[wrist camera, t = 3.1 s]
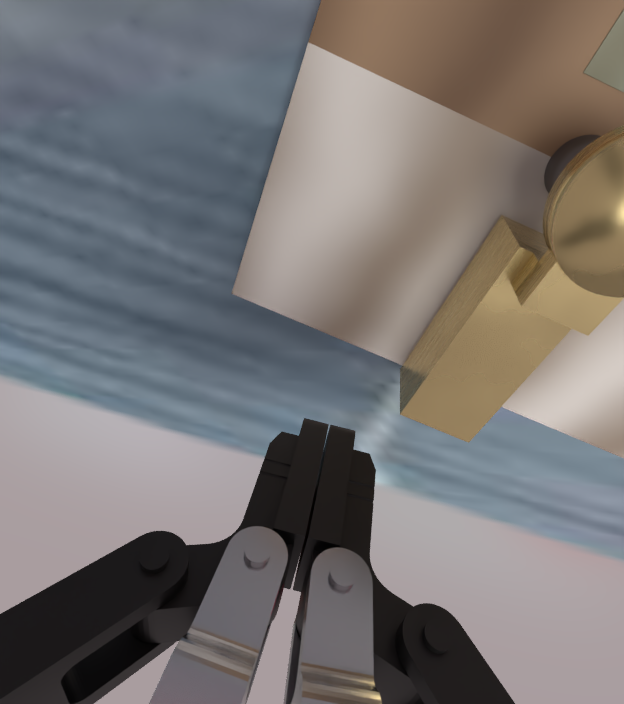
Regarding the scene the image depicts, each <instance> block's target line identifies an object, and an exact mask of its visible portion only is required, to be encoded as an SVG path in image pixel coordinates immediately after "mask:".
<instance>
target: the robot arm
mask: <svg viewBox="0 0 624 704" xmlns="http://www.w3.org/2000/svg"><path fill="white" fill-rule="evenodd" d="M328 425H329V424H325V423H321V422H318V421H314V420H310V419H306V418H304V421H303V424H302V428H301V431H300V435H299V436H297V435H293V434H289V433H285V432H281V433H280V434H279V435H278V436H277V437H276V438H275V439H274V440H273V441H272V442H271V443H270V445H269V447H268V450H267V453H266V456H265V459H264V462H263V464H262V467H261V470H260V474H259V476H258V479H257V482H256V485H255V487H254V490H253V493H252V496H251V499H250V502H249V504H248V507H247V510H246V513H245V516H244V519H243V521H242V523H241V525H240V526H239V528H238V529H237V530H236V532H235V533H233V534H232V535H231V536H230V537H228V538H226V539H224V540H222V541H220V542H216V543H211V544H200V545H186V544H185V543H184V541H183V540H182V539H181V538H180V537H178V536H177V535H175V534H173V533H171V532H166V531H154V532H150V533H146V534H144V535H142V536H140V537H138V538H136V539H135V540H133V541H131V542H129V543H127V544H125V545H124V546H122V547H120V548H118V549H117V550H115V551H113V552H111V553H109V554H107V555H106V556H104V557H102V558H100V559H99V560H97V561H95V562H93V563H91V564H89V565H88V566H86V567H84V568H82V569H81V570H79V571H77V572H75V573H73V574H71V575H70V576H68V577H66V578H65V579H63V580H61V581H59V582H57V583H55V584H54V585H52V586H50V587H48V588H46V589H45V590H43V591H41V592H39V593H37V594H36V595H34V596H32V597H30V598H28V599H27V600H25V601H23V602H21V603H19V604H18V605H16V606H14V607H12V608H10V609H9V610H7V611H5V612H3V613H1V614H0V704H94V703H95V702H96V701H97V700H99V699H100V698H102V697H103V696H104V695H106V694H107V693H108V692H110V691H111V690H112V689H114V688H115V687H116V686H118V685H119V684H120V683H122V682H123V681H125V680H126V679H127V678H129V677H130V676H131V675H133V674H134V673H135V672H137V671H138V670H139V669H141V668H142V667H143V666H145V665H146V664H147V663H149V662H150V661H151V660H153V659H154V658H155V657H157V656H158V655H159V654H161V653H162V652H164V651H165V650H166V649H168V648H169V647H170V646H171V645H173V644H174V643H175V642H176V641H179V642H178V644H177V646H176V647H175V649H174V651H173V653H172V655H171V657H170V660H169V662H168V664H167V666H166V668H165V670H164V672H163V675H162V677H161V679H160V681H159V683H158V685H157V688H156V690H155V692H154V694H153V696H152V699H151V700H150V703H149V704H246V703H247V700H248V697H249V693H250V690H251V687H252V683H253V680H254V677H255V674H256V671H257V668H258V665H259V661H260V658H261V655H262V652H263V649H264V645H265V642H266V639H267V636H268V633H269V629H270V626H271V623H272V621H273V620H274V618H275V616H276V614H277V611H278V607H279V603H280V600H281V596H282V592H283V588H287V589H290V588H291V584H292V581H293V578H294V574H295V571H296V567H297V564H298V568H297V573H296V577H295V582H294V587H293V590H296V591H299V592H301V596H300V601H299V606H298V611H297V615H296V618H295V621H294V625H293V633H292V641H291V648H290V657H289V664H288V672H287V680H286V688H285V697H284V704H515V703H514V702H513V700H512V699H511V697H510V696H509V694H508V693H507V691H506V690H505V688H504V687H503V685H502V684H501V683H500V681H499V680H498V678H497V677H496V675H495V674H494V673H493V671H492V670H491V668H490V667H489V665H488V664H487V663H486V661H485V659H484V658H483V657H482V655H481V654H480V652H479V651H478V650H477V648H476V646H475V645H474V644H473V642H472V641H471V639H470V638H469V636H468V635H467V633H466V632H465V631H464V629H463V628H462V626H461V625H460V623H459V622H458V621H457V620H456V619H455V617H453V615H451V614H450V613H449V612H448V611H447V610H445V609H443V608H441V607H440V606H437V605H434V604H427V603H426V604H419V605H416V606H414V607H413V606H411V605H410V604H408V603H407V602H405V601H404V600H402V599H400V598H399V597H397V596H396V595H394V594H393V593H391V592H390V591H389V590H387V589H386V588H385V587H384V586H383V585H382V584H381V583H380V581H379V580H378V579H377V577H376V575H375V574H374V571H373V569H372V566H371V563H370V540H371V526H372V513H373V500H374V486H375V473H376V469H375V467H374V464H373V462H372V459H371V456H370V454H368V453H364V452H361V451H357V450H353V447H354V439H355V431H354V430H350V429H346V428H342V427H338V426H334V425H330V428H329V432H328V436H327V439H326V435H327V430H328ZM325 440H326V443H325ZM324 444H325V447H324ZM323 449H324V450H323ZM300 553H301V554H300ZM299 556H300V558H299ZM298 560H299V563H298Z"/></svg>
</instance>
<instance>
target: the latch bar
mask: <svg viewBox="0 0 624 704" xmlns="http://www.w3.org/2000/svg"><path fill="white" fill-rule="evenodd" d="M623 299H624V125H622V126H620V127H618V128H615V129H613V130H611V131H609V132H607V133H606V134H604V135H602V136H600V137H599V138H597V139H596V140H594V141H593V142H591V143H590V144H589V145H587V146H586V147H585V148H584V149H582V150H581V151H580V152H579V153H578V154H577V155H576V156H575V157H574V158H573V159H572V160H571V161H570V162H569V163H568V164H567V165H566V167H565V168H564V169H563V171H562V172H561V173H560V175H559V176H558V178H557V179H556V181H555V183H554V184H553V186H552V188H551V191H550V193H549V195H548V198H547V201H546V204H545V208H544V213H543V234H542V233H540V232H538V231H536V230H534V229H532V228H529V227H527V226H525V225H523V224H521V223H518V222H516V221H514V220H512V219H510V218H507V217H505V216H503V215H501V217H500V218H499V220H498V221H497V223H496V224H495V226H494V227H493V229H492V230H491V232H490V233H489V235H488V236H487V238H486V240H485V241H484V243H483V244H482V246H481V247H480V249H479V250H478V252H477V253H476V255H475V256H474V258H473V259H472V261H471V262H470V264H469V265H468V267H467V268H466V270H465V271H464V273H463V274H462V276H461V277H460V279H459V281H458V282H457V284H456V285H455V287H454V288H453V290H452V291H451V293H450V294H449V296H448V297H447V299H446V300H445V302H444V303H443V305H442V306H441V308H440V309H439V311H438V312H437V314H436V315H435V317H434V318H433V320H432V322H431V323H430V325H429V326H428V328H427V329H426V331H425V332H424V334H423V335H422V337H421V338H420V340H419V341H418V343H417V344H416V346H415V347H414V349H413V350H412V352H411V353H410V355H409V356H408V358H407V360H406V361H405V363H404V364H403V366H402V367H401V369H400V415H403V416H405V417H408V418H410V419H413V420H415V421H417V422H420V423H422V424H425V425H427V426H430V427H432V428H435V429H437V430H439V431H442V432H444V433H447V434H449V435H452V436H454V437H457V438H459V439H461V440H464V441H466V442H470V441H471V440H472V438H473V437H474V436H475V435H476V434H477V433H478V432H479V431H480V430H481V428H482V427H483V426H484V425H485V424H486V423H487V422H488V421H489V420H490V419H491V417H492V416H493V415H494V414H495V413H496V412H497V411H498V410H499V409H500V408H501V406H502V405H503V404H504V403H505V402H506V401H507V400H508V399H509V398H510V397H511V395H512V394H513V393H514V392H515V391H516V390H517V389H518V388H519V387H520V386H521V384H522V383H523V382H524V381H525V380H526V379H527V378H528V377H529V376H530V374H531V373H532V372H533V371H534V370H535V369H536V368H537V367H538V366H539V365H540V363H541V362H542V361H543V360H544V359H545V358H546V357H547V356H548V355H549V354H550V352H551V351H552V350H553V349H554V348H555V347H556V346H557V345H558V344H559V343H560V341H561V340H562V339H563V338H564V337H565V336H566V335H567V334H568V333H569V331H570V330H571V329H574V330H576V331H578V332H580V333H583V334H585V335H587V336H589V335H590V334H591V332H592V331H593V330H594V329H595V328H596V327H597V326H598V325H599V324H600V323H601V322H602V321H603V320H604V319H605V318H606V317H607V316H608V315H609V313H610V312H611V311H612V310H613V309H614V308H615V307H616V306H617V305H618V304H619V303H620V302H621V301H622V300H623Z"/></svg>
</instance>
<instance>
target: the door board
mask: <svg viewBox="0 0 624 704" xmlns="http://www.w3.org/2000/svg"><path fill="white" fill-rule="evenodd" d="M622 125H624V0H321V3H320V6H319V9H318V12H317V16H316V19H315V22H314V25H313V29H312V32H311V35H310V39H309V42H308V45H307V48H306V52H305V55H304V58H303V61H302V65H301V68H300V71H299V75H298V78H297V81H296V84H295V88H294V91H293V94H292V97H291V101H290V104H289V107H288V111H287V114H286V117H285V120H284V124H283V127H282V130H281V133H280V137H279V140H278V143H277V147H276V150H275V153H274V156H273V160H272V163H271V166H270V169H269V173H268V176H267V179H266V183H265V186H264V189H263V192H262V196H261V199H260V202H259V206H258V209H257V212H256V215H255V219H254V222H253V225H252V228H251V232H250V235H249V238H248V242H247V245H246V248H245V251H244V255H243V258H242V261H241V264H240V268H239V271H238V274H237V278H236V281H235V284H234V287H233V291H232V294H234V295H236V296H238V297H241V298H243V299H246V300H248V301H250V302H253V303H255V304H257V305H260V306H262V307H265V308H267V309H269V310H272V311H274V312H276V313H279V314H281V315H284V316H286V317H288V318H291V319H293V320H296V321H298V322H300V323H303V324H305V325H307V326H310V327H312V328H315V329H317V330H319V331H322V332H324V333H327V334H329V335H331V336H334V337H336V338H338V339H341V340H343V341H346V342H348V343H350V344H353V345H355V346H358V347H360V348H362V349H365V350H367V351H369V352H372V353H374V354H377V355H379V356H381V357H384V358H386V359H389V360H391V361H393V362H396V363H398V364H400V365H403V364H404V363H405V361H406V360H407V358H408V356H409V355H410V353H411V352H412V350H413V349H414V347H415V346H416V344H417V343H418V341H419V340H420V338H421V337H422V335H423V334H424V332H425V331H426V329H427V328H428V326H429V325H430V323H431V322H432V320H433V318H434V317H435V315H436V314H437V312H438V311H439V309H440V308H441V306H442V305H443V303H444V302H445V300H446V299H447V297H448V296H449V294H450V293H451V291H452V290H453V288H454V287H455V285H456V284H457V282H458V281H459V279H460V277H461V276H462V274H463V273H464V271H465V270H466V268H467V267H468V265H469V264H470V262H471V261H472V259H473V258H474V256H475V255H476V253H477V252H478V250H479V249H480V247H481V246H482V244H483V243H484V241H485V240H486V238H487V236H488V235H489V233H490V232H491V230H492V229H493V227H494V226H495V224H496V223H497V221H498V220H499V218H500V217H501V215H503V216H505V217H507V218H510V219H512V220H514V221H516V222H518V223H521V224H523V225H525V226H527V227H529V228H532V229H534V230H536V231H538V232H540V233H542V234H543V213H544V208H545V204H546V201H547V198H548V195H549V193H550V191H551V188H552V186H553V184H554V183H555V181H556V179H557V178H558V176H559V175H560V173H561V172H562V171H563V169H564V168H565V167H566V165H567V164H568V163H569V162H570V161H571V160H572V159H573V158H574V157H575V156H576V155H577V154H578V153H579V152H580V151H581V150H582V149H584V148H585V147H586V146H587V145H589V144H590V143H591V142H593V141H594V140H596V139H597V138H599V137H600V136H602V135H604V134H606V133H607V132H609V131H611V130H613V129H615V128H618V127H620V126H622ZM501 407H503V408H505V409H508V410H510V411H512V412H515V413H517V414H520V415H522V416H524V417H527V418H529V419H532V420H534V421H536V422H539V423H541V424H543V425H546V426H548V427H551V428H553V429H555V430H558V431H560V432H562V433H565V434H567V435H570V436H572V437H574V438H577V439H579V440H582V441H584V442H586V443H589V444H591V445H593V446H596V447H598V448H601V449H603V450H605V451H608V452H610V453H613V454H615V455H617V456H620V457H622V458H624V299H623V300H622V301H621V302H620V303H619V304H618V305H617V306H616V307H615V308H614V309H613V310H612V311H611V312H610V313H609V315H608V316H607V317H606V318H605V319H604V320H603V321H602V322H601V323H600V324H599V325H598V326H597V327H596V328H595V329H594V330H593V331H592V332H591V334H590V335H589V336H587V335H585V334H583V333H580V332H578V331H576V330H574V329H571V330H570V331H569V333H568V334H567V335H566V336H565V337H564V338H563V339H562V340H561V341H560V343H559V344H558V345H557V346H556V347H555V348H554V349H553V350H552V351H551V352H550V354H549V355H548V356H547V357H546V358H545V359H544V360H543V361H542V362H541V363H540V365H539V366H538V367H537V368H536V369H535V370H534V371H533V372H532V373H531V374H530V376H529V377H528V378H527V379H526V380H525V381H524V382H523V383H522V384H521V386H520V387H519V388H518V389H517V390H516V391H515V392H514V393H513V394H512V395H511V397H510V398H509V399H508V400H507V401H506V402H505V403H504V404H503V405H502V406H501Z"/></svg>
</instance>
